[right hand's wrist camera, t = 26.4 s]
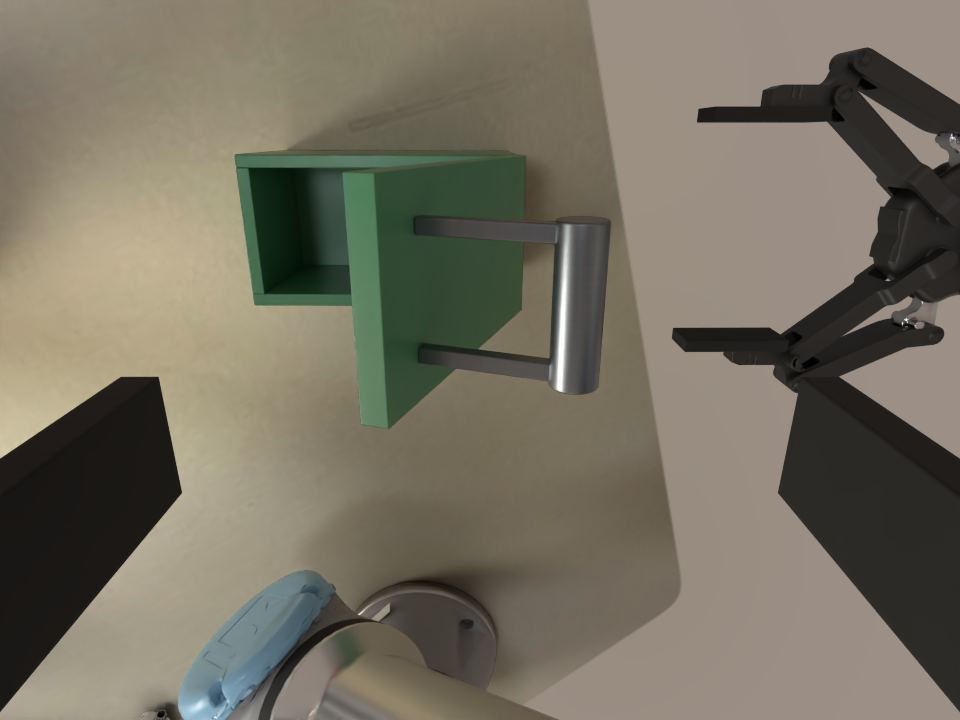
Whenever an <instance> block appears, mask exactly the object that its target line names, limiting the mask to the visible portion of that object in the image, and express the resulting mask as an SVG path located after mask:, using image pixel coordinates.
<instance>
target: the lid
mask: <svg viewBox="0 0 960 720" xmlns="http://www.w3.org/2000/svg"><path fill="white" fill-rule="evenodd" d="M525 169H526V156H513V155H506V156H496V157H486V158H476V159H466V160H456V161H446V162H436V163H426V164H416V165H406V166H396V167H386V168H376V169H366V170H356V171H346V172H343V173H342V174H343V187H344V201H345V214H346V227H347V241H348V254H349V268H350V281H351V295H352V308H353V322H354V335H355V348H356V362H357V375H358V389H359V402H360V416H361V424H362V425H368V426H373V427H379V428H384V429H389V428H390V427H392V426H393V425H394V424H395V423H396V422H397V421H398V420H399V419H400V418H402V417H403V416H404V415H405V414H406V413H407V412H408V411H409V410H411V409H412V408H413V407H414V406H415V405H416V404H417V403H418V402H419V401H421V400H422V399H423V398H424V397H425V396H426V395H427V394H428V393H429V392H431V391H432V390H433V389H434V388H435V387H436V386H437V385H438V384H439V383H441V382H442V381H443V380H444V379H445V378H446V377H447V376H448V375H449V374H451V373H452V372H453V371H454V370H455V369H456V368H457V369H464V370H471V371H479V372H486V373H493V374H500V375H508V376H515V377H522V378H529V379H536V380H544V381H549V382H548V383H549V386H550V387H551V388H552V389H554V390H556V391H558V392H561V393H565V394H574V395H580V394H588V393H591V392H594V391H595V390H596V389H597V388H598V384H599V372H600V359H601V346H602V333H603V320H604V307H605V295H606V282H607V269H608V256H609V243H610V230H611V221H610V220H608V219H605V218H599V217H586V216H573V217H562V218H558V219H557V220H556V222H554V221H534V220H524V205H525ZM523 242H531V243H547V244H555V252H554V274H553V295H552V317H551V339H550V359H549V358H541V357H533V356H525V355H517V354H509V353H501V352H493V351H485V350H477V349H478V348H480V347H481V346H482V345H483V344H484V343H485V342H486V341H487V340H488V339H490V338H491V337H492V336H493V335H494V334H495V333H496V332H497V331H498V330H500V329H501V328H502V327H503V326H504V325H505V324H506V323H507V322H508V321H510V320H511V319H512V318H513V317H514V316H515V315H516V314H517V313H518V312H520V311H521V310H522V277H523Z"/></svg>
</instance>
